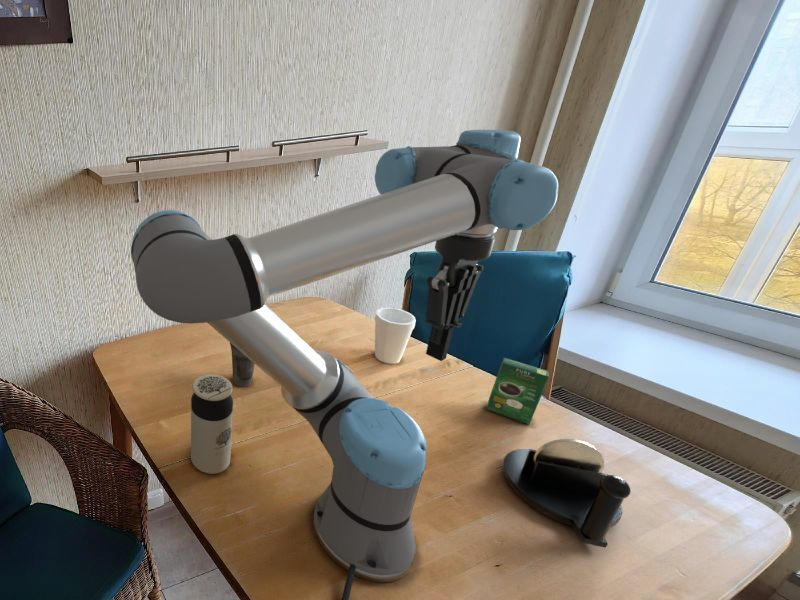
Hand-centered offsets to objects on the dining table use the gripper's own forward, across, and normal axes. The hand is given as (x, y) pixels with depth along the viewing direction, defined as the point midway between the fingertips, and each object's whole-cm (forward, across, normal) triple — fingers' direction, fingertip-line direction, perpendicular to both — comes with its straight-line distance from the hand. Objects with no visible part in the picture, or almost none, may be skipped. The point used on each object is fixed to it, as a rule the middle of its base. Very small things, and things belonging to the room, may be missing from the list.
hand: (435, 356), depth 76 cm
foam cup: (+25, +29, +24) cm, 45 cm away
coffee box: (+25, +31, -4) cm, 40 cm away
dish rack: (+23, +14, -19) cm, 33 cm away
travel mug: (+25, -34, +21) cm, 47 cm away
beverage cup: (+25, -12, +37) cm, 46 cm away
